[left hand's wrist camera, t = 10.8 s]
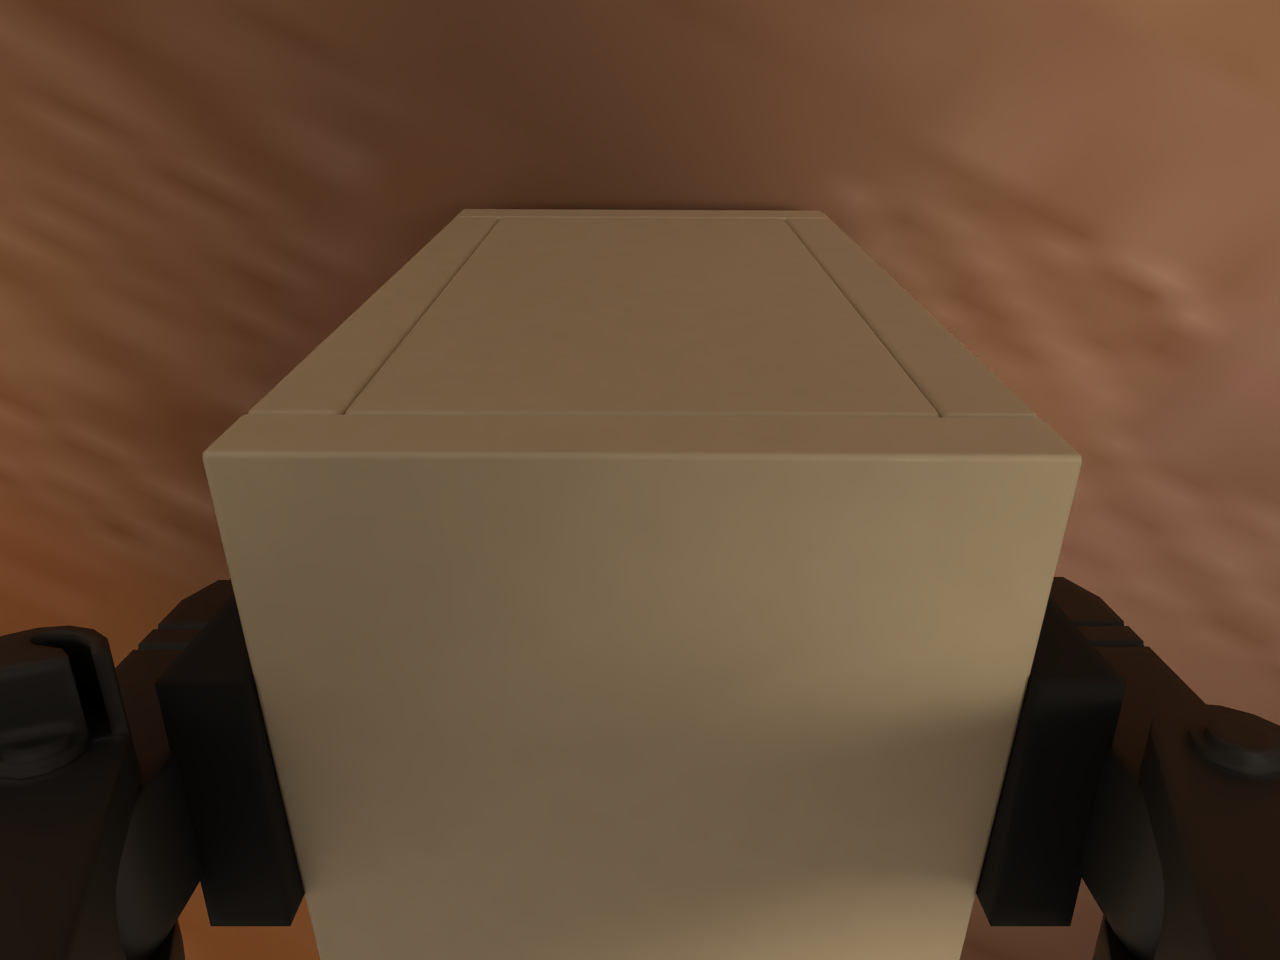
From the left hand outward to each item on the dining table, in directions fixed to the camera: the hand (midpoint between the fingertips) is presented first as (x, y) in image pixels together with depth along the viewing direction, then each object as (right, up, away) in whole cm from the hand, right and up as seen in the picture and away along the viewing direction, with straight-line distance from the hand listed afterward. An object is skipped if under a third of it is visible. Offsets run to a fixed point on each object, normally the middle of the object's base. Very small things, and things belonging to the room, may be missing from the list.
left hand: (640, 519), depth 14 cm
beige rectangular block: (0, -2, +6) cm, 6 cm away
